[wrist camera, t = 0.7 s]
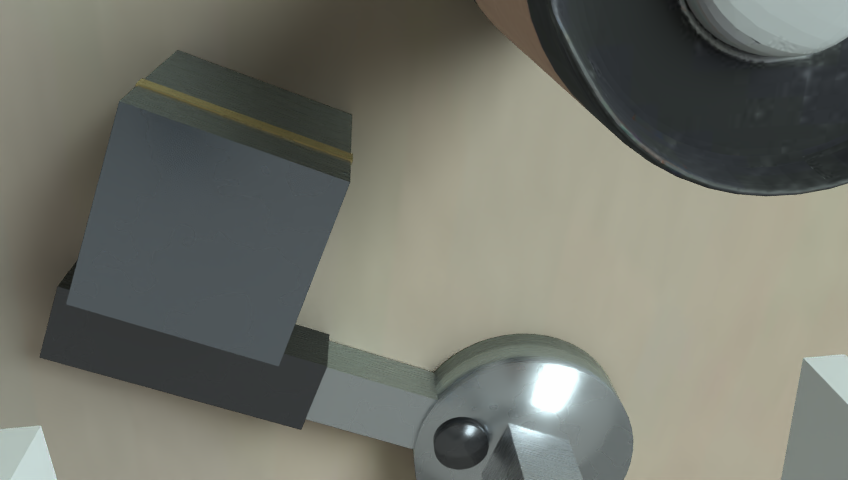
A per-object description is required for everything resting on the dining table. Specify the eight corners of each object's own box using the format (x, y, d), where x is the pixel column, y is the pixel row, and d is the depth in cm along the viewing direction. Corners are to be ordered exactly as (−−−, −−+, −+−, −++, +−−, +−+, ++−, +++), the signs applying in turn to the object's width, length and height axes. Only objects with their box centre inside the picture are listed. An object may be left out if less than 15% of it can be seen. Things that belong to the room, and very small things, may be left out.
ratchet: (45, 385, 35) (-30, 504, 29) (97, 188, 32) (26, 269, 25) (561, 524, 41) (602, 651, 34) (653, 369, 38) (718, 476, 31)
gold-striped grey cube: (130, 211, 32) (64, 305, 25) (176, 48, 30) (117, 98, 23) (296, 265, 34) (279, 368, 27) (353, 113, 32) (351, 181, 24)
